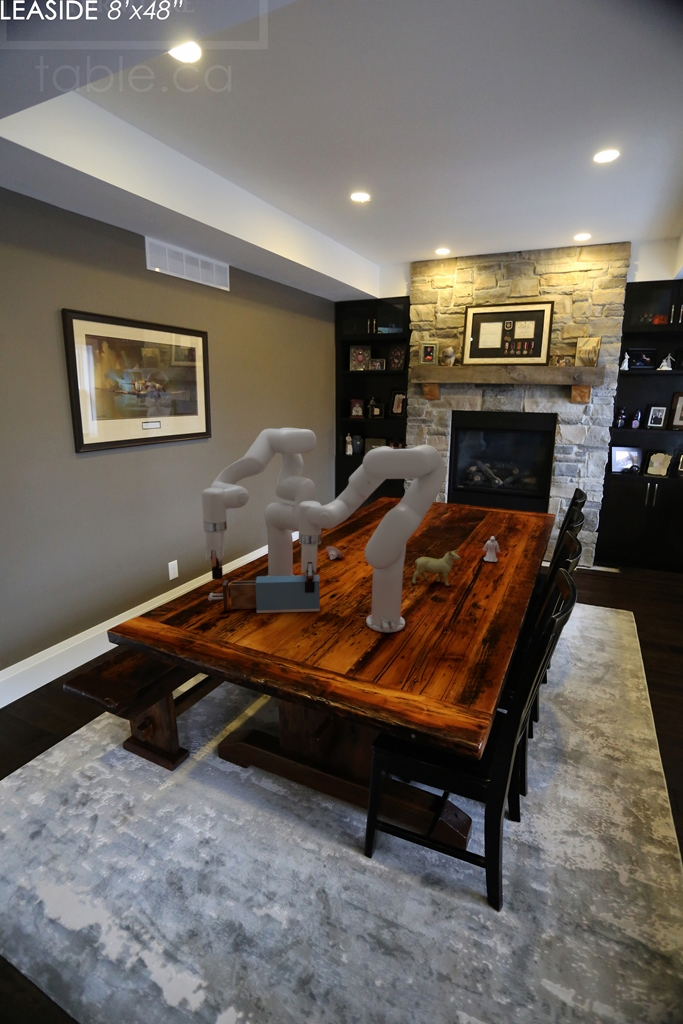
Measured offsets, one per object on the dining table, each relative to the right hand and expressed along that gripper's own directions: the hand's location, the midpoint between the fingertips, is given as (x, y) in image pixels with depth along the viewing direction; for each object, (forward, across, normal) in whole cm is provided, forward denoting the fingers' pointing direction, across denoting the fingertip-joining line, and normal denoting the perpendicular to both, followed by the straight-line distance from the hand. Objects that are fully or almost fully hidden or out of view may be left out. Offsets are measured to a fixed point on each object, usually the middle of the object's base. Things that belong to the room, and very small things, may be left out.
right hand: (309, 588), depth 171 cm
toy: (+8, -21, +50) cm, 54 cm away
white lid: (+8, -52, +11) cm, 53 cm away
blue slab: (+8, 0, -7) cm, 10 cm away
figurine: (+7, -48, +82) cm, 95 cm away
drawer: (+7, 0, -21) cm, 22 cm away
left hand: (-4, 0, -31) cm, 31 cm away
